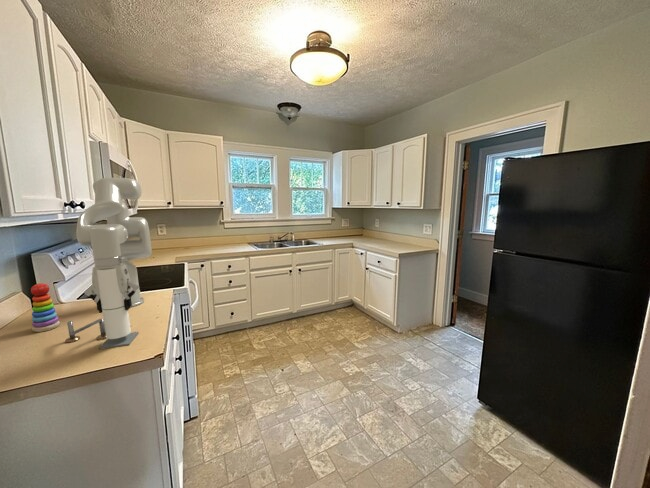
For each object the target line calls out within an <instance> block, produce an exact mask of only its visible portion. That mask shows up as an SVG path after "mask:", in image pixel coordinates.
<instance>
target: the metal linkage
mask: <svg viewBox="0 0 650 488" xmlns="http://www.w3.org/2000/svg"><path fill="white" fill-rule="evenodd" d="M97 324H98V325H99V330H100V334H99V335H97V336H96V340H97V341H103V340H105V339H106V340H107V338H106V332H105V325H104V319H103V318H99V319H96V320H95V321H93V322H89V323H88V324H86V325H84V326H82V327H79V328H77V329H76V330H75V328H74V323H73V321H72V320H68V321H67V330H68V336H69V337H67V338H66V339H65V343H66V344H70V343H75V342H77V341H79V340H80V339H81V336H80V335H77V334H78V333H80V332H83V331H85V330H86V329H88V328H91V327H92V326H94V325H97Z"/></svg>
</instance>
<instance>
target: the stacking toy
mask: <svg viewBox="0 0 650 488" xmlns="http://www.w3.org/2000/svg"><path fill="white" fill-rule="evenodd" d="M49 291H50V286H49V285H47V284H46V283H42V282H41V283H36V284H34V285H33V286H31V288H30V293H31V294H32V296H33V297H32V301H33V302H32V306H33V307H31V308H32V309H31V310H32V312H31V316H32V317H31V321H32V323H31V324H32V325H31V326H32V328H31V330H32V332H35V333H41V332H47V331H51V330H53V329H56V328H57V327H58V326H60V324H61V321H60V320H59V319H60V318H59V316H57V315H58V314H57V312H56V308H55V304H54V303H53V299H52V298H51V295H50V293H49Z"/></svg>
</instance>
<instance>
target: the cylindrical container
mask: <svg viewBox="0 0 650 488" xmlns="http://www.w3.org/2000/svg"><path fill="white" fill-rule="evenodd" d="M97 276H98V283H99V290H100V299H101V306H102V319H104V325H105V332H106V340H107V339H117V338H121V337H124V336H126V335H128V334H129V333H132V329H131V321H130V315H129V310H125V305H124V300H125V297H124V296H123V294H122V293H120V290H119V286H118V282H117V275H116V268H112V269H97Z"/></svg>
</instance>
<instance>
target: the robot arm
mask: <svg viewBox="0 0 650 488" xmlns="http://www.w3.org/2000/svg"><path fill="white" fill-rule="evenodd" d="M92 189H93V192H94V194H95V195H94V204H92V205H91V206H89V207H88V208H86V209H85V210H83V212H81V213H80V215H79V216H78V218H77V223H76V233H75V234H76V235H75V236H76V240H77V242H78V243H79V244H80V245H81V246H83V247H91V251H92V256H93V262H94V263H93V264H94V266H93V267H92V272H91V282H92V283H91V286H89V287H88V288H87V289H85V290H84V291H83V294H85V295H86V296H88V297H89V299H91V300H92V301H93V302H94V303H95V304H96V310H97V311H98V314H103V312H102V306H101V299H100V290H99V283H98V276H97V269H112V268H116V275H117V282H118V286H119V290H120V293H122V294H123V296H124V297H125V300H124V305H125V310H128V311H129V309H130V308H133V307H135V306H139V305H141V304H143V303H144V302H145V298H144V297H142V296H141V290H140V284H139V283H140V282H139V277H138V276H139V275H138V268H137V266H136V265H135V264H134V263H133V262H131V260H139V259H147V258H150V257H151V256H152V252H153V249H152V241H151V240H152V239H151V234H150V233H151V232H150V227H149V226H150V225H149V223H148V221H147V219H146V218H145V217H141V216H139V217H138V216H135V217H131V216H130V214H129V208H128V206H127V205H126V203H125V202H124V201H123V200H138V199H139V200H140V198H141V197H142V187H141V184H140V182H139V181H138V180H136V179H135V178H129V177H102V178H100V179H97V180H95V181H94V182H93V183H92ZM103 220H106V224H95V223H98V222H101V221H103ZM128 238H138V239H128Z"/></svg>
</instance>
